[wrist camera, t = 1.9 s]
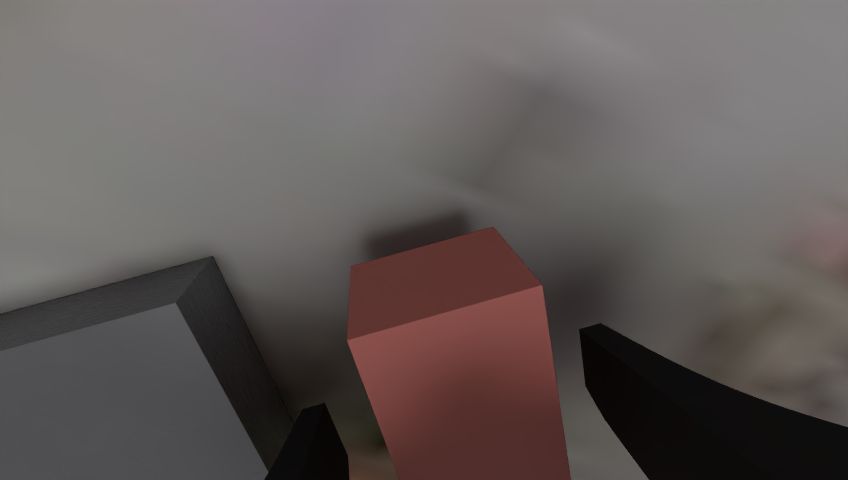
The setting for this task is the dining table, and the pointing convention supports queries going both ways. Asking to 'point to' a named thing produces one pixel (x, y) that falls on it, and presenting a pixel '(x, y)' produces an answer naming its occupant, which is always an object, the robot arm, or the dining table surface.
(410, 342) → the clip
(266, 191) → the dining table surface
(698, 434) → the robot arm
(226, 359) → the rail
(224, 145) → the dining table surface
